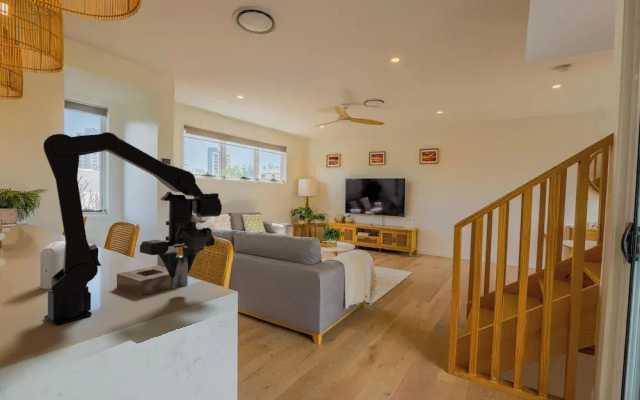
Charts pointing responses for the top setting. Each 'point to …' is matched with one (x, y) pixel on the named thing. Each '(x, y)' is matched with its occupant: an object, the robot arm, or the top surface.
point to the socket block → (144, 280)
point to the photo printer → (51, 262)
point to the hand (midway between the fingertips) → (179, 275)
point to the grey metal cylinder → (180, 272)
